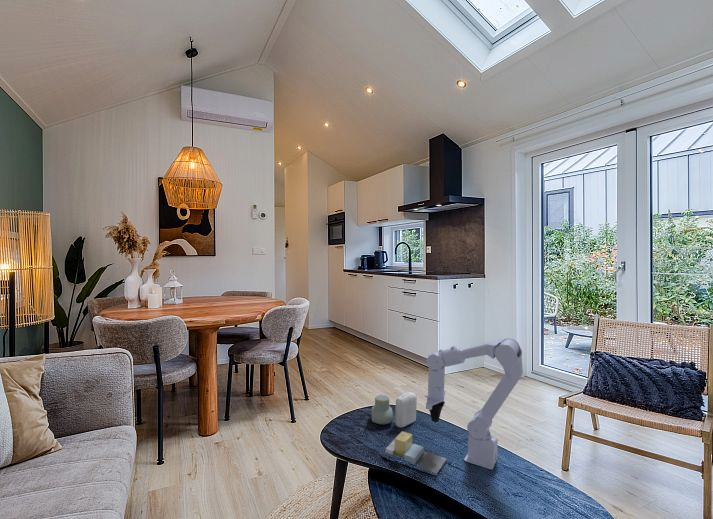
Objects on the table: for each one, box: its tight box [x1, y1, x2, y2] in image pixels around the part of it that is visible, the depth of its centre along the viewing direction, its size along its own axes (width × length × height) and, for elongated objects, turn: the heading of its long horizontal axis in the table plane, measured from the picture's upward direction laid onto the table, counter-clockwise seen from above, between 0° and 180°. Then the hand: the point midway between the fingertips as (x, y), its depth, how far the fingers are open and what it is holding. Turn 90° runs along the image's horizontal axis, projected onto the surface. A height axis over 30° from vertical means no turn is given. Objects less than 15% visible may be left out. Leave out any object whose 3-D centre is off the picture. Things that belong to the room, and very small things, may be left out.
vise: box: [384, 438, 448, 474], centre depth 137 cm, size 20×10×3 cm, turn 59°
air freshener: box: [371, 394, 394, 425], centre depth 163 cm, size 11×8×10 cm
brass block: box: [394, 430, 413, 458], centre depth 139 cm, size 4×6×6 cm, turn 149°
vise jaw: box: [404, 443, 425, 464], centre depth 137 cm, size 4×8×2 cm, turn 149°
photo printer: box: [394, 391, 418, 428], centre depth 162 cm, size 10×4×12 cm, turn 134°
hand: (435, 421), depth 145 cm, fingers closed
